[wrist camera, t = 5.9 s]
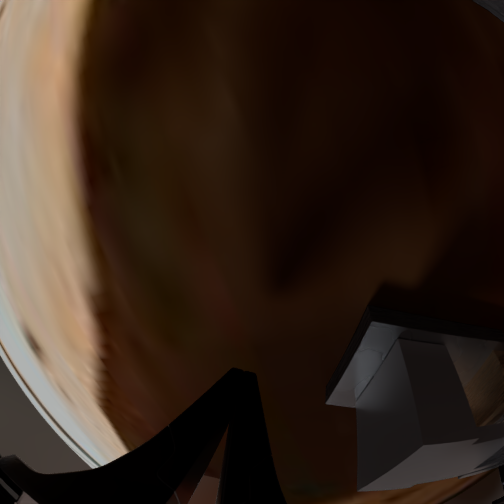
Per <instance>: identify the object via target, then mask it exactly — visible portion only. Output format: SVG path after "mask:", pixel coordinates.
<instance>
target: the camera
mask: <svg viewBox="0 0 504 504" xmlns="http://www.w3.org/2000/svg"><path fill="white" fill-rule="evenodd" d="M473 1H474V2H476V3H477V4H479V5H480V6H482V7H484V8H485V9H487V10H488V11H490V12H491V13H492V14H494V15H495V16H496V17H498V18H499V19H500V20H501V21H503V22H504V0H473Z"/></svg>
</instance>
